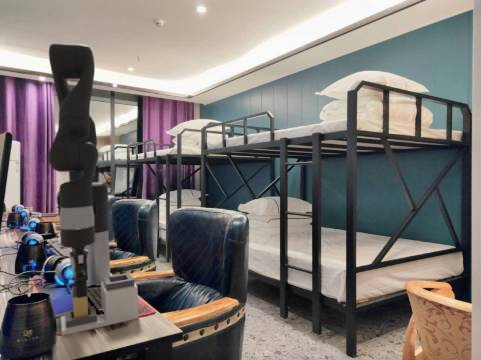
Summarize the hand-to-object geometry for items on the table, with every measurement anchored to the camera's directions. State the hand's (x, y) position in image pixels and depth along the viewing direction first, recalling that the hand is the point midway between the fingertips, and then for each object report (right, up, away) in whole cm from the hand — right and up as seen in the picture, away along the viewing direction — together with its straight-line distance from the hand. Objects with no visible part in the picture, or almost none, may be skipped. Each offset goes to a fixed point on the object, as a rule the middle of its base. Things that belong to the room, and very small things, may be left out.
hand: (80, 290), depth 83 cm
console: (+4, -8, +2) cm, 9 cm away
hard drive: (-9, -9, +11) cm, 17 cm away
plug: (0, -7, 0) cm, 7 cm away
